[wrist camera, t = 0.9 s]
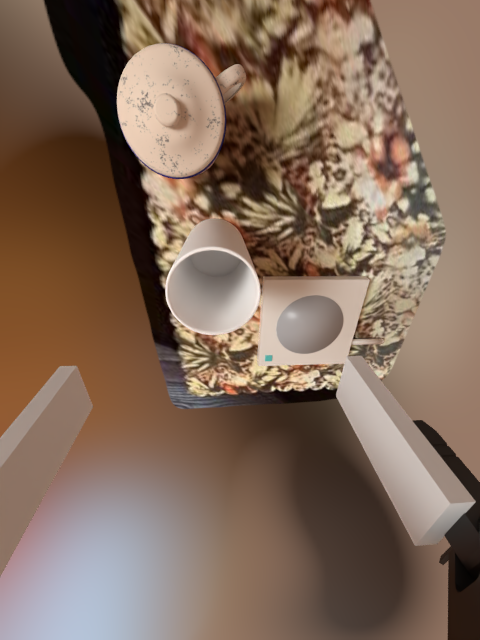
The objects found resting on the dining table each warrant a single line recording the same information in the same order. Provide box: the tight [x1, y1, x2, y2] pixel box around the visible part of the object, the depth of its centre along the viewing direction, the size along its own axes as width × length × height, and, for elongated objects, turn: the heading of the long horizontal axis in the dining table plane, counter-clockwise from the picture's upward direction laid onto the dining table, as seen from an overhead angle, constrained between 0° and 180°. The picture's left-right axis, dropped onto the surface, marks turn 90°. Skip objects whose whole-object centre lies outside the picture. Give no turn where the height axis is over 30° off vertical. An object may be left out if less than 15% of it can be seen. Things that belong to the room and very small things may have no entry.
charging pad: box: [257, 276, 384, 366], centre depth 42 cm, size 16×22×2 cm
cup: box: [165, 219, 260, 335], centre depth 29 cm, size 8×8×16 cm
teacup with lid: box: [117, 43, 246, 179], centre depth 24 cm, size 12×9×12 cm
